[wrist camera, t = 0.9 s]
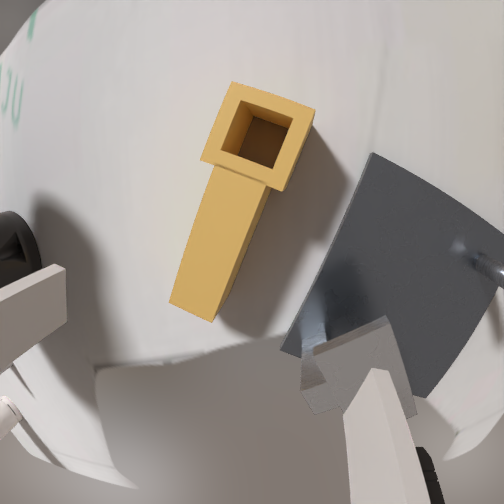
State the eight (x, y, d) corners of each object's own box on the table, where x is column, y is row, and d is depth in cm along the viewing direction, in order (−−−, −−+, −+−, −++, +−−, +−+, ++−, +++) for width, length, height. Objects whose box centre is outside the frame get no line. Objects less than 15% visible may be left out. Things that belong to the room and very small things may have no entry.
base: (280, 345, 30) (268, 419, 20) (370, 153, 24) (414, 138, 14) (423, 393, 29) (449, 456, 18) (511, 243, 23) (574, 271, 12)
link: (246, 100, 25) (231, 81, 19) (312, 124, 24) (315, 109, 19) (182, 274, 30) (156, 296, 24) (239, 300, 29) (225, 328, 24)
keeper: (361, 273, 27) (390, 323, 17) (391, 351, 28) (417, 414, 19) (287, 307, 29) (279, 368, 19) (325, 378, 30) (328, 446, 21)
